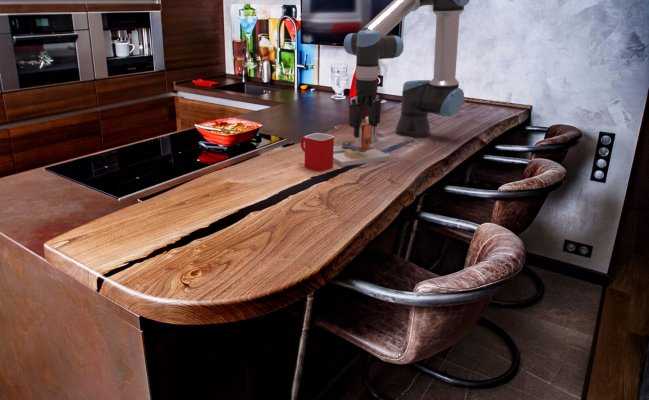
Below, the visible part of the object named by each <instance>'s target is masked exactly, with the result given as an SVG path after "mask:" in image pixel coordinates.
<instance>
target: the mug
mask: <svg viewBox="0 0 649 400" xmlns="http://www.w3.org/2000/svg"><path fill="white" fill-rule="evenodd" d="M334 140H335V136H334V135H331V134H327V133H326V134H325V133H322V132H321V133H320V132H314V133H311V134H307V135H304V136H303V137H301V138H300V148H301V150H302V152H303V153H304V168H306V169H308V170H309V169H310V170H313V171H317V172H322V171H323V172H324V171H326V170H329V169H332V168H333V167H334V162H333V147H334V146H335V145H334V144H335V141H334Z"/></svg>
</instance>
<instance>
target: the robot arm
mask: <svg viewBox="0 0 649 400" xmlns="http://www.w3.org/2000/svg"><path fill="white" fill-rule="evenodd" d="M470 1H471V0H393V1H391V2H390V3H389V4H387V6H386V7H385V8H384V9H382V10H381V11H380V12H379V13H378V14H377V15H376V16H375V17H374V18H373V19H372V20H370V21H369V22H368V23H367V24H366V25H365V26H363V28H362V29H360V30H359V31H358V32H352V33H348V34H347V35H346V36H345V38H344V41H343V48H344V51H345V53H346V54H349V55H352V56H356V57H355V58H356V65H355V78H356V79H355V82H354V83H355V85H354V86H355V87H354V88H355V95H354V97H351V98H350V97H349V98H348V104H349V117H348V118H349V120H348V126H349V127H351V128H353V137H354V144H355V146H358V147H361V139H362V129H361V128H360V125H361V123H362V121H363V117H364V111H365V110H366V112H367V113H366V114H367V117H368V120H369V124H372V128H371V144H370V145H372V146H374V142H373V135H374V134H375V126H377V124H379V125H380V124H381V123H380V122H381V121H380V118H381V111H382V110H381V106H382V101H383V96H382V95H380V94H377V92H376V91H377V90H378V77H379V62H380V61H379V60H385V59H386V60H387V59H395V58H398V57H400V56H401V55H402V53H403V51H404V45H405V44H404V41H403V40H402V38H401V37H400V36H398V35H393V34H392V35H390V34H389V32H391V31H392V30H393V29H394V28H395V27H396V26H397V25H398V24H399V23H401V21H403V20H404V18H406V17H407V16H408V15H409V14H410V13H411V12H415V11H417V10H418V9H419V8H421V7H424V6H432V12H433V14H435V17H436V18H435V20H436V21H435V36H434V37H435V42H434V44H435V45H434V60H433V61H434V65H433V78H432V79H431V80H429V79H418V80H417V79H415V80H408V81H405V82H404V83H403V84H402V85H403V87H402V91H401V93H402V95H401V105H400V106H401V107H400V108H401V109H400V116H399V119H398V121H397V124H396V126H395V134H396V135H398V136H401V137H407V138H426V137H429V136H430V135H431V128H430V123H429V122H430V121H429V117H428V116H429V114H434V115H439V116H442V117H453V116H455V115H456V114H458V113H459V112H460V110H461V107H462V106H463V104H464V100H465V99H464V98H465V92H464V90H463V89H461V88H460V86H459V84H460V82H459V80H458V79H457V78H456V75H457V73H456V71H457V60H458V59H457V57H458V44H459V43H458V41H459V29H460V28H459V26H460V16H461V14H462V13H463V12H464V11H465V7H466V6H467V5H468V4H469V3H470ZM388 34H389V35H388ZM376 119H377V120H376Z"/></svg>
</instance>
